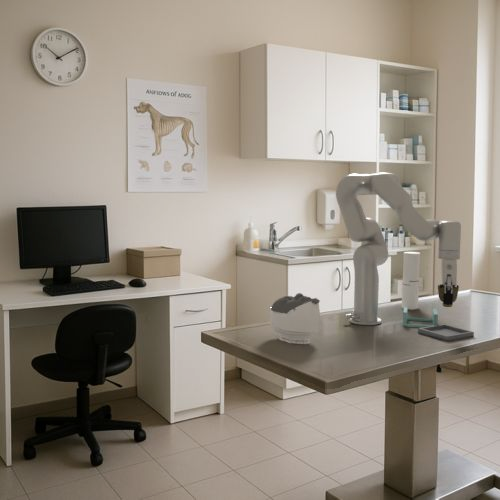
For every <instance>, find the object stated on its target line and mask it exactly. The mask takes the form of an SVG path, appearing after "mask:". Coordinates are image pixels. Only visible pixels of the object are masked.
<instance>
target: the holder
mask: <svg viewBox="0 0 500 500" xmlns="http://www.w3.org/2000/svg"><path fill="white" fill-rule="evenodd" d="M408 310H409V309H408V307H404V308H403V311H402V313H403V314H402V327H407V328H423V327H429V326H435V325H438V317H439V314H438V308H432V318H419V317H408ZM408 321H415V322H429V323H430V322H431V323H432V325H429V324H428V325H427V324H417V323H416V324H415V323H414V324H413V323H408Z"/></svg>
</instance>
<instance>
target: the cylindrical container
mask: <svg viewBox="0 0 500 500" xmlns="http://www.w3.org/2000/svg"><path fill="white" fill-rule="evenodd" d="M420 263H421V252H418V251H404V252H403V260H402V287H401V308H402V309H404V307H408V310H417V309H419V291H420V270H421V269H420V265H421V264H420Z"/></svg>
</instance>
